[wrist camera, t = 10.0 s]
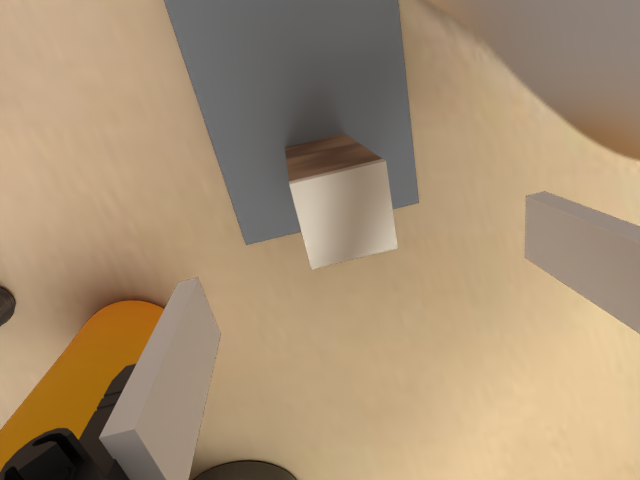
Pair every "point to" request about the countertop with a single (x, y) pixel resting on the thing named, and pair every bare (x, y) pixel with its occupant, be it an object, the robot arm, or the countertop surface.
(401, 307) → the countertop surface
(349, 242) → the block
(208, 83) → the mat
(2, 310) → the camera
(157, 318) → the beer bottle
